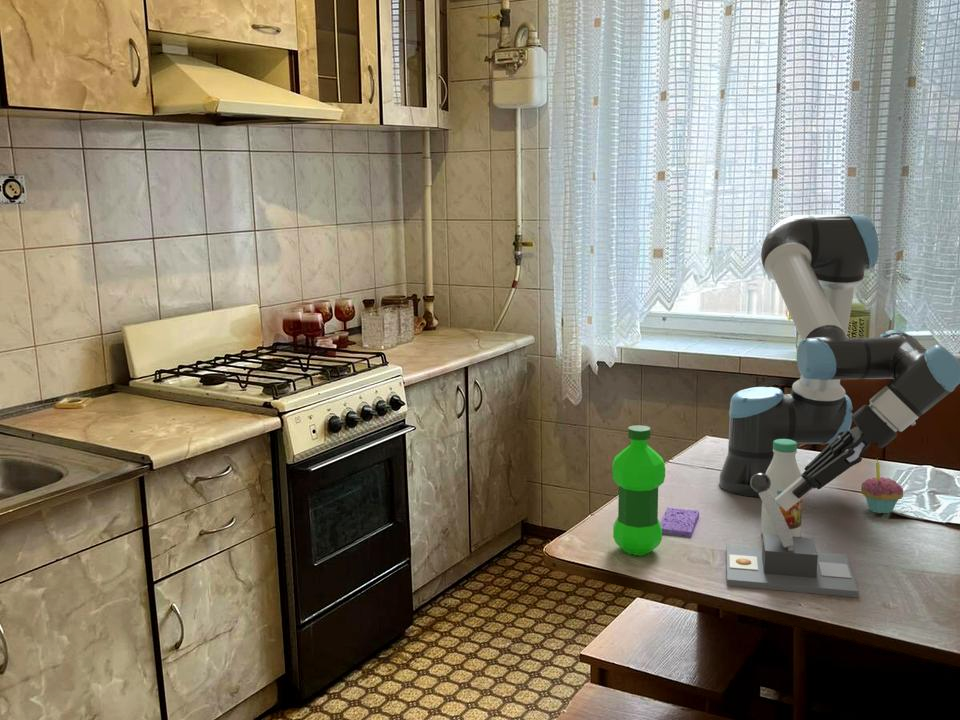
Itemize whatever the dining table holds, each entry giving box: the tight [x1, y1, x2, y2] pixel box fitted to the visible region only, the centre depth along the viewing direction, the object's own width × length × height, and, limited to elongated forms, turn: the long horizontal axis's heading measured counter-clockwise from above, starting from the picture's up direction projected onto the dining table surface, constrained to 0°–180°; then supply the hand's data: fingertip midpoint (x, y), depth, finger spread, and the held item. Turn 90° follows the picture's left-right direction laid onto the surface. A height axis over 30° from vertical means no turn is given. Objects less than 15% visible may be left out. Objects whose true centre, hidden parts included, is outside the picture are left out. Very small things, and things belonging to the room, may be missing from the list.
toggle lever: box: [750, 473, 794, 548], centre depth 167 cm, size 4×6×14 cm, turn 165°
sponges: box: [659, 507, 700, 538], centre depth 193 cm, size 7×13×2 cm, turn 160°
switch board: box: [725, 534, 859, 599], centre depth 168 cm, size 22×16×6 cm
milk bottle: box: [760, 439, 803, 537], centre depth 184 cm, size 8×8×20 cm
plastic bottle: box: [611, 424, 666, 556], centre depth 177 cm, size 10×10×25 cm
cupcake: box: [860, 458, 904, 514], centre depth 198 cm, size 9×8×12 cm
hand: (780, 504), depth 166 cm, fingers closed
